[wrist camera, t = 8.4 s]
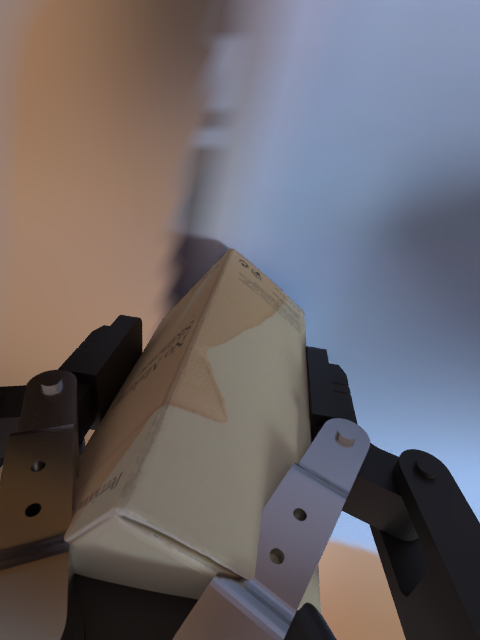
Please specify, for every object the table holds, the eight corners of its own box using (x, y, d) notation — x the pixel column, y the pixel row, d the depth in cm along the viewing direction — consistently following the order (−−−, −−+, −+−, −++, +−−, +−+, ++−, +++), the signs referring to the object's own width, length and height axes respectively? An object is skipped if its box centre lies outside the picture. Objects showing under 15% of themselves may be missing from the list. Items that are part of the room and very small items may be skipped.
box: (232, 243, 14) (125, 501, 5) (308, 312, 15) (343, 633, 6) (156, 323, 17) (-21, 609, 7) (227, 379, 18) (157, 691, 8)
